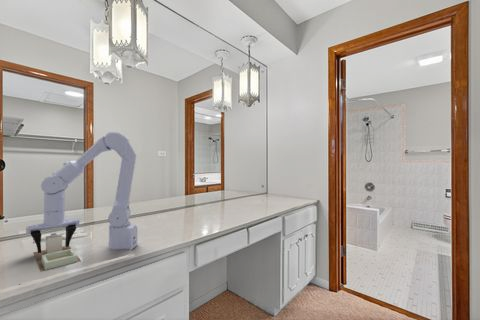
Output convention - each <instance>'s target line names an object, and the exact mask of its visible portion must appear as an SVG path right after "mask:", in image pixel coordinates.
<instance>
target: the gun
mask: <svg viewBox="0 0 480 320" xmlns="http://www.w3.org/2000/svg"><path fill="white" fill-rule="evenodd" d="M55 233H56V234H61V236H62V241H63V240H64V241H66V231H62V232H55ZM51 234H52V233H45V234H41V243H42V242H46V236H50V235H51ZM87 236H89V233H86V232H84V230H83V231H82V230H75V232H74V233H73V235H72V238H71V240H74V239H80V238H85V237H87ZM32 240H33V241H32V242H33V244H36V243H35V241H34V239H33V238H32Z"/></svg>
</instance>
